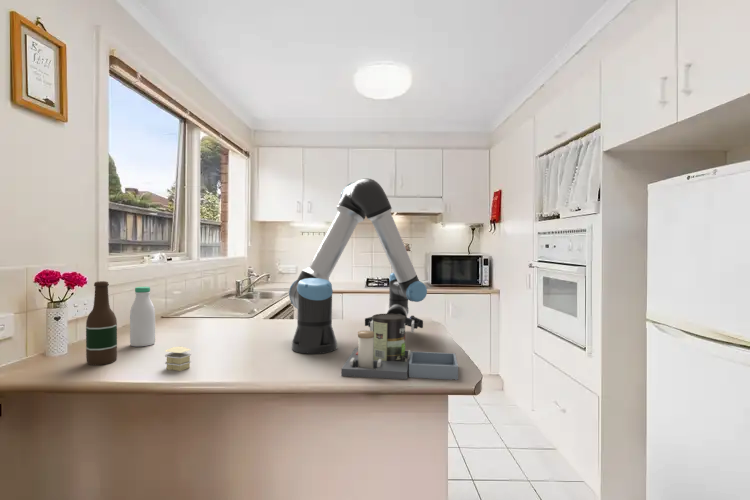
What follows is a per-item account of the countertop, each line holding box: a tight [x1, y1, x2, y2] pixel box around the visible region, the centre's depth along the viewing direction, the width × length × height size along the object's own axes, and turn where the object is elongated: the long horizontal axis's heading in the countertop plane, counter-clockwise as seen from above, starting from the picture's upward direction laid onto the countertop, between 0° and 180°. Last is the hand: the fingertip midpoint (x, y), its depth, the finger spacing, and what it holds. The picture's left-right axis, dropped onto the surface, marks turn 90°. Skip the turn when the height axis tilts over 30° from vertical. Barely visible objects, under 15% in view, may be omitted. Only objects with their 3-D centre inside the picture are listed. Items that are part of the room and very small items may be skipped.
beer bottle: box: [85, 280, 118, 366], centre depth 126 cm, size 8×8×24 cm
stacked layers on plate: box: [164, 346, 192, 372], centre depth 122 cm, size 10×9×6 cm
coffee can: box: [371, 313, 406, 362], centre depth 130 cm, size 10×10×14 cm
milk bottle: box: [129, 286, 156, 348], centre depth 148 cm, size 8×8×20 cm
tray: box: [408, 350, 459, 381], centre depth 122 cm, size 13×13×4 cm
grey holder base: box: [340, 347, 411, 380], centre depth 126 cm, size 18×22×3 cm
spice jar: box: [357, 330, 374, 369], centre depth 120 cm, size 5×5×11 cm
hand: (391, 327), depth 140 cm, fingers open, 13 cm apart
